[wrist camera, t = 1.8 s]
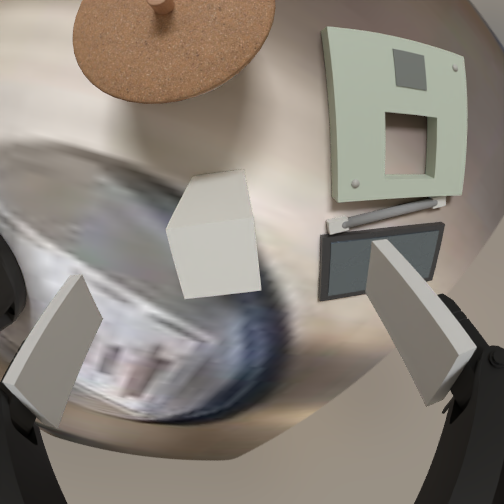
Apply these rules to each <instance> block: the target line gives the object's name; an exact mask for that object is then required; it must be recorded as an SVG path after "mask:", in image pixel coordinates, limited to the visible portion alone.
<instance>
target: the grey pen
mask: <svg viewBox="0 0 504 504" xmlns="http://www.w3.org/2000/svg"><path fill="white" fill-rule="evenodd" d="M442 206H446V196H429V198H428V199H424V200H420V201H415V202H411V203H407V204H402V205H398V206H394V207H390V208H385V209H381V210H377V211H373V212H369V213H364V214H360V215H356V216H352V217H348V218H347V217H346V216H341V217H337V218H333V219H328V220H326V223H327V231H328V233H329V234H330V235H331V234H335V233H339V232H343V231H347V230H349V228H351V227H355V226H359V225H363V224H367V223H371V222H375V221H379V220H383V219H387V218H391V217H395V216H399V215H403V214H407V213H411V212H415V211H419V210H423V209H427V208H433V209H434V208H438V207H442Z"/></svg>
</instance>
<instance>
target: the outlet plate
mask: <svg viewBox="0 0 504 504" xmlns="http://www.w3.org/2000/svg"><path fill="white" fill-rule="evenodd" d="M321 36H322V44H323V52H324V61H325V70H326V80H327V92H328V105H329V120H330V140H331V174H332V198H333V199H335V200H336V201H337V202H338V203H340V202H352V201H365V200H378V199H393V198H410V197H429V196H454V195H462V189H463V181H464V171H465V161H466V146H467V90H466V75H465V65H464V57H462V56H460V55H457V54H454V53H452V52H449V51H446V50H443V49H440V48H436V47H433V46H430V45H426V44H423V43H419V42H416V41H412V40H408V39H404V38H399V37H395V36H390V35H385V34H380V33H374V32H368V31H362V30H354V29H346V28H337V27H326V28H324V29H323V30H322V31H321ZM385 112H392V113H403V114H412V115H421V116H427V155H426V171H425V174H392V175H385Z"/></svg>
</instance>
